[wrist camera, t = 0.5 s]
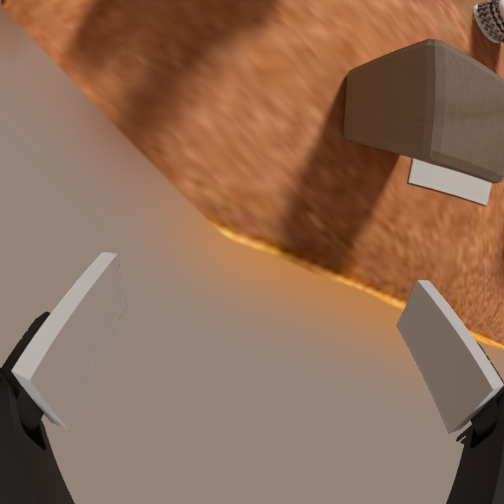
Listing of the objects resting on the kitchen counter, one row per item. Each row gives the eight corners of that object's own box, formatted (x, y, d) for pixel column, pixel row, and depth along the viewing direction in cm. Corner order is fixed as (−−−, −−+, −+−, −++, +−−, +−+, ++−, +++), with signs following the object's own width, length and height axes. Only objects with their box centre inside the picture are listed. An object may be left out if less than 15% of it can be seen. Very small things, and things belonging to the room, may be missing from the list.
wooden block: (403, 152, 33) (505, 189, 15) (340, 139, 33) (427, 163, 15) (408, 87, 29) (513, 82, 11) (344, 69, 28) (432, 31, 10)
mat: (422, 69, 27) (423, 69, 27) (500, 114, 28) (501, 114, 28) (407, 182, 35) (408, 182, 35) (485, 205, 36) (486, 205, 36)
